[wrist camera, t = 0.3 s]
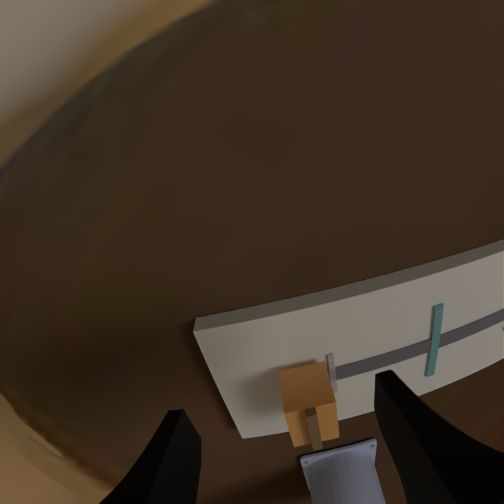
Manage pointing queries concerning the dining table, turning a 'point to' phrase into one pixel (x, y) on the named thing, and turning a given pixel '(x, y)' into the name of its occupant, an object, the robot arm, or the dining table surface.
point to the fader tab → (309, 405)
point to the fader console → (360, 337)
